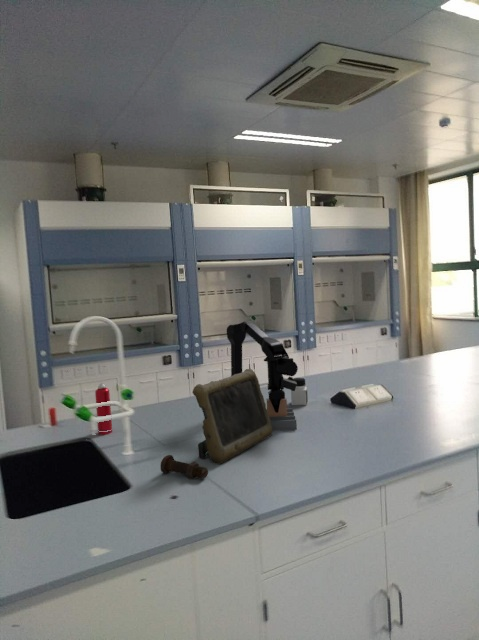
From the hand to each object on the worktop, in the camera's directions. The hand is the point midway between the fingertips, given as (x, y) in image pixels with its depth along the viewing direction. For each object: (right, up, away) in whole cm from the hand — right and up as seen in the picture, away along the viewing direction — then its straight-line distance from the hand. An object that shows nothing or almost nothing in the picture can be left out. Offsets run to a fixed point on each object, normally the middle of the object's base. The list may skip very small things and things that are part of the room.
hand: (276, 411), depth 180 cm
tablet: (-16, -8, -24) cm, 30 cm away
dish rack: (0, -5, 0) cm, 5 cm away
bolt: (-31, -10, -46) cm, 57 cm away
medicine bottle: (+13, -3, +30) cm, 33 cm away
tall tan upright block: (0, -3, 0) cm, 3 cm away
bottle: (-70, -9, +1) cm, 70 cm away
